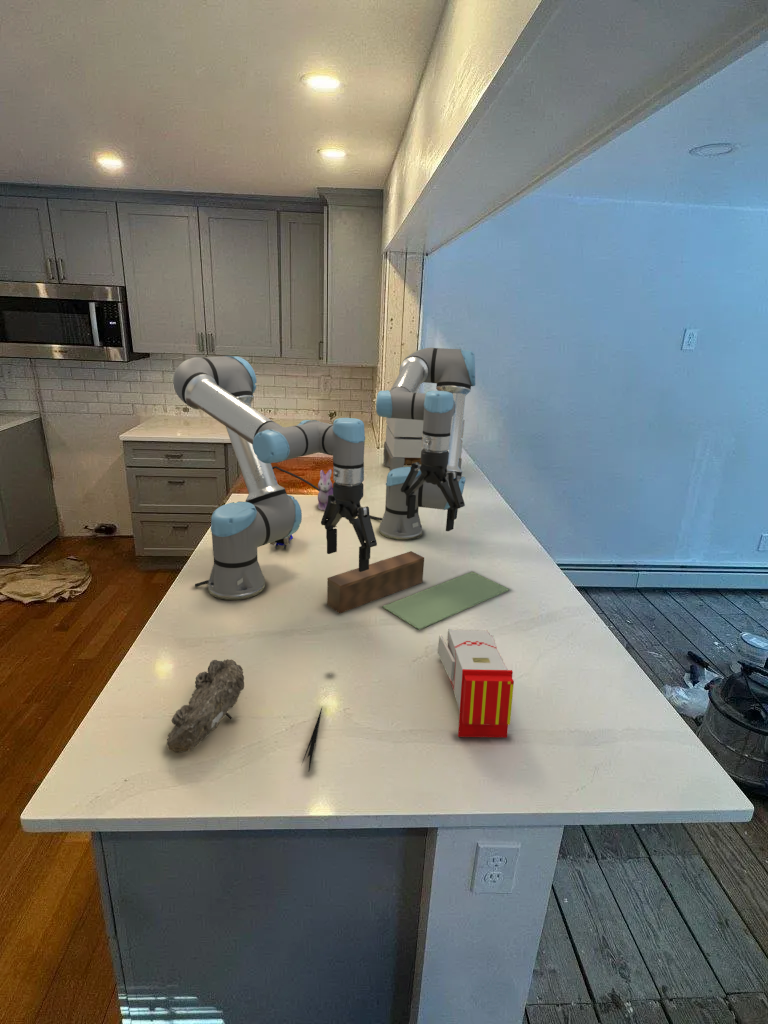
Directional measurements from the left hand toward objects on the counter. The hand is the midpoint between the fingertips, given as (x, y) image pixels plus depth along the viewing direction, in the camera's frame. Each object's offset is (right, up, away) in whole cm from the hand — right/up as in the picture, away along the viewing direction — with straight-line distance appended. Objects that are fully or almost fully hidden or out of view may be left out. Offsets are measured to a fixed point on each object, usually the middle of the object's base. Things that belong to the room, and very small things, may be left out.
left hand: (347, 561), depth 146 cm
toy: (+27, -25, -28) cm, 46 cm away
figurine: (-13, +15, +77) cm, 79 cm away
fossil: (-23, -26, -38) cm, 52 cm away
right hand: (+22, +9, +13) cm, 28 cm away
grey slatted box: (+27, +32, +129) cm, 135 cm away
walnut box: (+8, -10, +11) cm, 17 cm away
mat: (+27, -11, +10) cm, 31 cm away
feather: (-3, -27, -38) cm, 47 cm away
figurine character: (-24, +2, +41) cm, 48 cm away
